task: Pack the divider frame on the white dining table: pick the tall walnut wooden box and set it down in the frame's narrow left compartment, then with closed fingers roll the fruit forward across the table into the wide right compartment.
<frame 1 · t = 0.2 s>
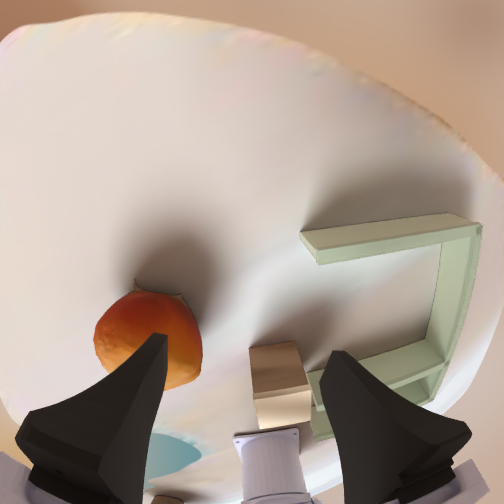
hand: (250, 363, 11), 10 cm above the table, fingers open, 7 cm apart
divider frame: (376, 328, 23), on the table
flower pot: (168, 499, 37), on the table
fruit: (158, 318, 21), on the table
walnut box: (273, 360, 23), on the table
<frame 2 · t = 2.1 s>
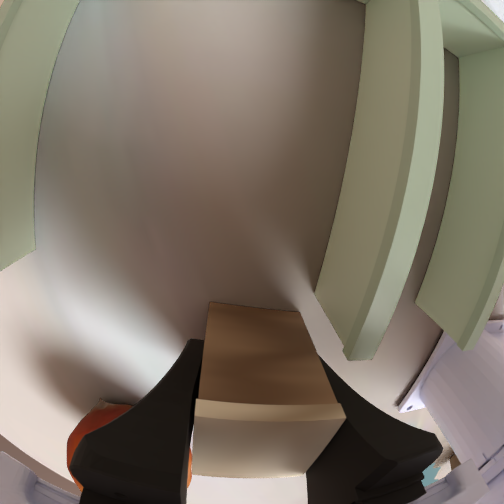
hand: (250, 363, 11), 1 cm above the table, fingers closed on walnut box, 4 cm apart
divider frame: (260, 108, 9), on the table
fruit: (139, 424, 15), on the table
walnut box: (248, 343, 12), on the table, touching gripper
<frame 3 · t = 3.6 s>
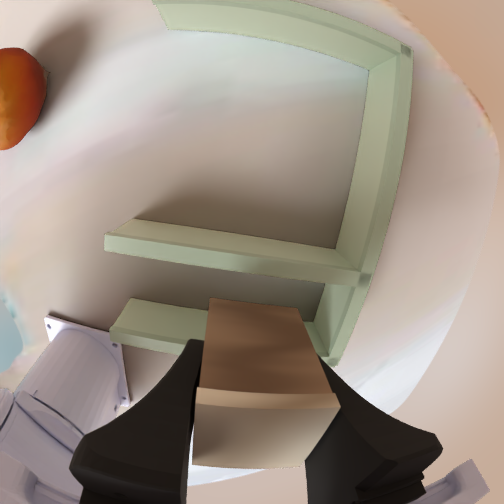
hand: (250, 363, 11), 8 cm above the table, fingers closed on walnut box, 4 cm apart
divider frame: (245, 176, 17), on the table
fruit: (24, 103, 13), on the table
walnut box: (247, 338, 13), point 6 cm above the table, touching gripper
when the fingers open (3 cm above the table, at t = 5.0 s): walnut box stays where it is, resting in divider frame.
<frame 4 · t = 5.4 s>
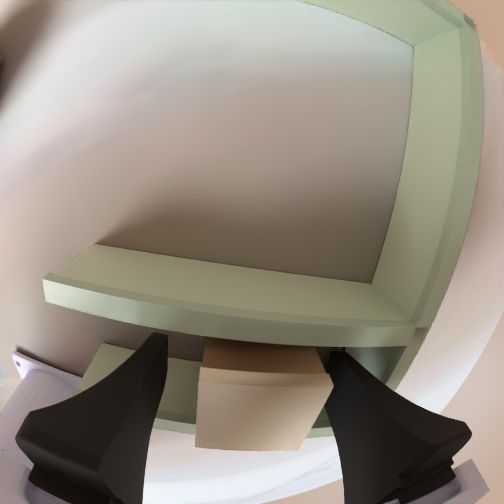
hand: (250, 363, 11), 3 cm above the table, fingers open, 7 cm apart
divider frame: (251, 184, 11), on the table
walnut box: (247, 327, 14), resting in divider frame
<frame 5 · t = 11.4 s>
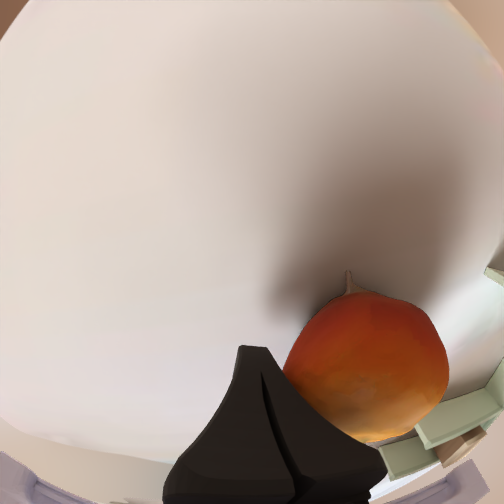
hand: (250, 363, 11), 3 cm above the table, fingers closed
divider frame: (472, 371, 18), on the table
fruit: (339, 333, 14), on the table, touching gripper
walnut box: (443, 416, 20), resting in divider frame
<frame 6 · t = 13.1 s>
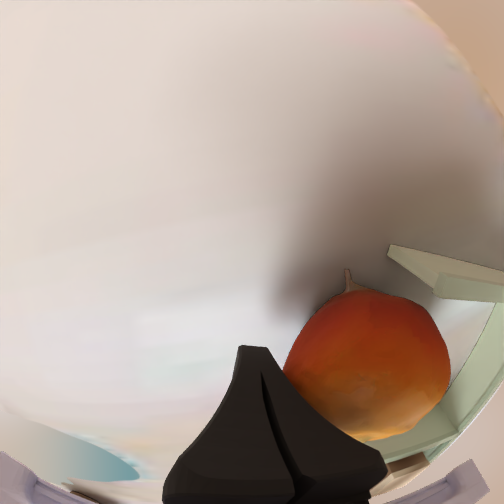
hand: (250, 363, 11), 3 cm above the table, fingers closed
divider frame: (407, 385, 16), on the table
flower pot: (85, 497, 26), on the table
fruit: (340, 331, 14), on the table, touching gripper
walnut box: (378, 434, 19), resting in divider frame
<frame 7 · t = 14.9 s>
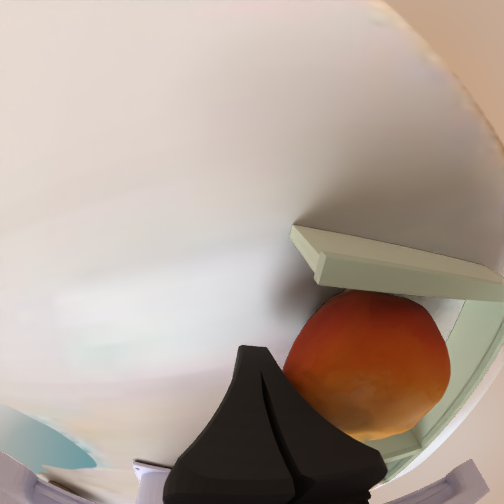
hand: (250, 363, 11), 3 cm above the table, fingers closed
divider frame: (352, 391, 16), on the table
flower pot: (63, 487, 25), on the table
fruit: (340, 331, 14), on the table, touching gripper
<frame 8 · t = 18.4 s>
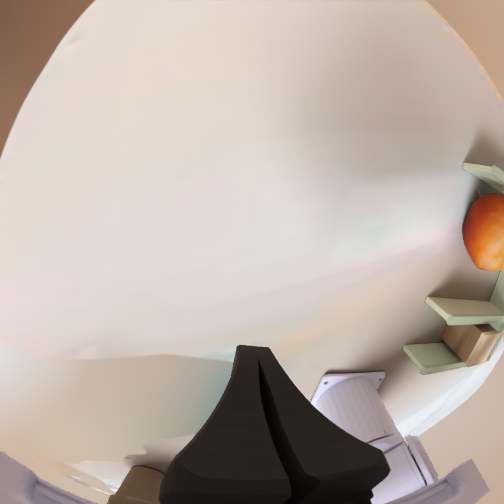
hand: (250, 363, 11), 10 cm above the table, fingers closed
divider frame: (474, 270, 23), on the table
flower pot: (148, 472, 32), on the table
fruit: (473, 223, 21), on the table
walnut box: (456, 323, 25), resting in divider frame
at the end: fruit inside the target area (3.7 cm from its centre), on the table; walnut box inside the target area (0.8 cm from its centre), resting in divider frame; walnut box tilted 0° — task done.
